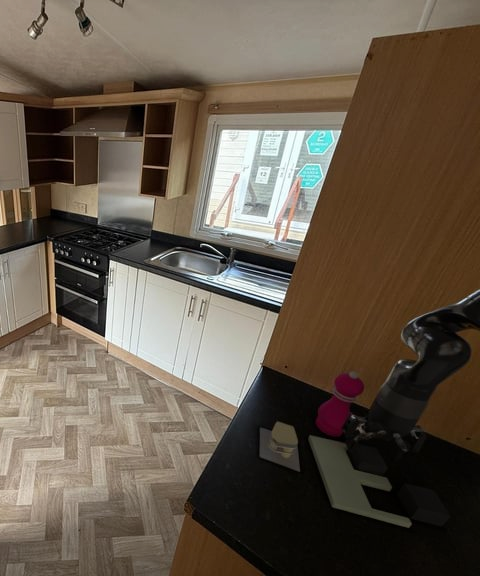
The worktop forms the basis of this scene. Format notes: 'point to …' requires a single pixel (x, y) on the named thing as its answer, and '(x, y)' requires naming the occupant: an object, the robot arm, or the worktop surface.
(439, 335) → the robot arm
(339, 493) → the pale green e-shaped block
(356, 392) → the pepper mill
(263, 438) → the stacked layers on plate
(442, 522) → the black block
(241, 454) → the worktop surface
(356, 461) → the dark charcoal cube
